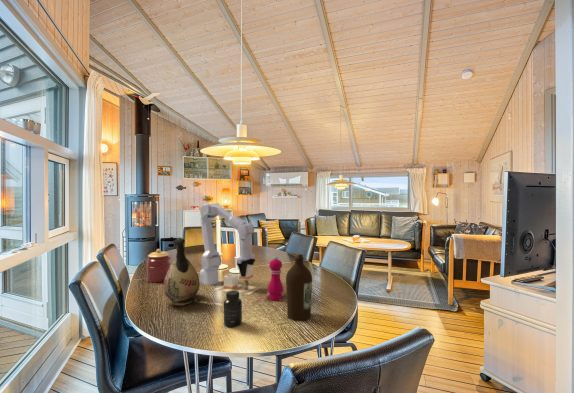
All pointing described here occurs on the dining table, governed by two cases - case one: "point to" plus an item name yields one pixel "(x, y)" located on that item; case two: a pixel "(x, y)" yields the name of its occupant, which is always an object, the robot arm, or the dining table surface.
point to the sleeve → (247, 273)
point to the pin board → (240, 288)
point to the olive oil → (299, 290)
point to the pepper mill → (275, 280)
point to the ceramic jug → (181, 278)
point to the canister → (157, 266)
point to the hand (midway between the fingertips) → (246, 274)
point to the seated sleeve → (230, 281)
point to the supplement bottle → (232, 309)
